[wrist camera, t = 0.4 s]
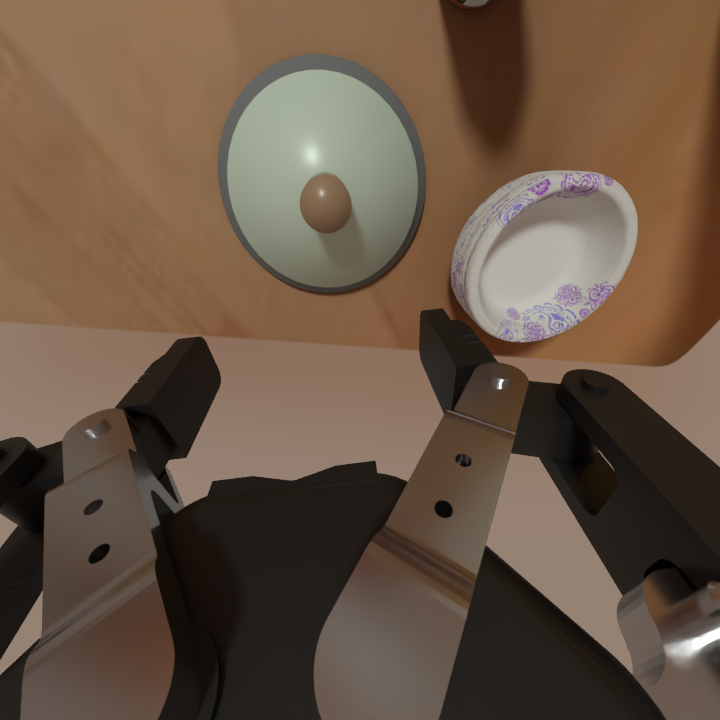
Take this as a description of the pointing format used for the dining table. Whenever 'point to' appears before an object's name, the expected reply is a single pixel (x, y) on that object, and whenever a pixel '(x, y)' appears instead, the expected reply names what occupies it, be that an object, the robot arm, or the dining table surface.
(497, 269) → the paper bowls
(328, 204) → the lid
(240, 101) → the mat
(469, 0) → the supplement bottle
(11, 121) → the dining table surface
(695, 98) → the dining table surface
